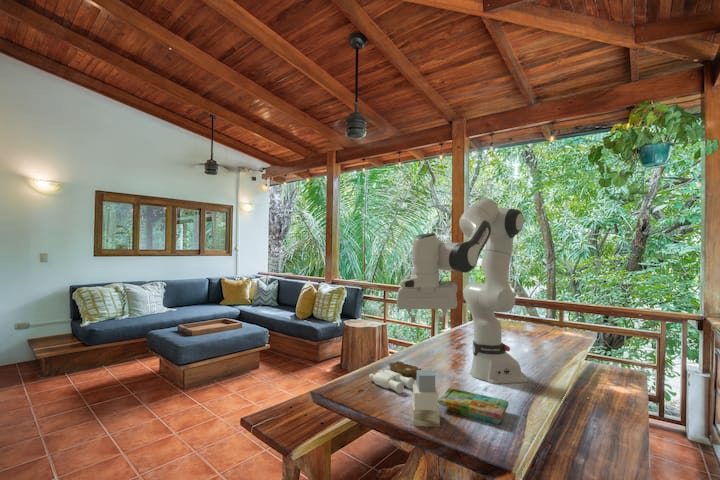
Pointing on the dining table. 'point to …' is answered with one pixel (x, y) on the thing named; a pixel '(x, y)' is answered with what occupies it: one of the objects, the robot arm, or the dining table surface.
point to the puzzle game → (474, 405)
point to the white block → (425, 399)
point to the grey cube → (425, 381)
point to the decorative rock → (404, 369)
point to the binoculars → (391, 380)
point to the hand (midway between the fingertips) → (426, 321)
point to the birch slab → (425, 417)
